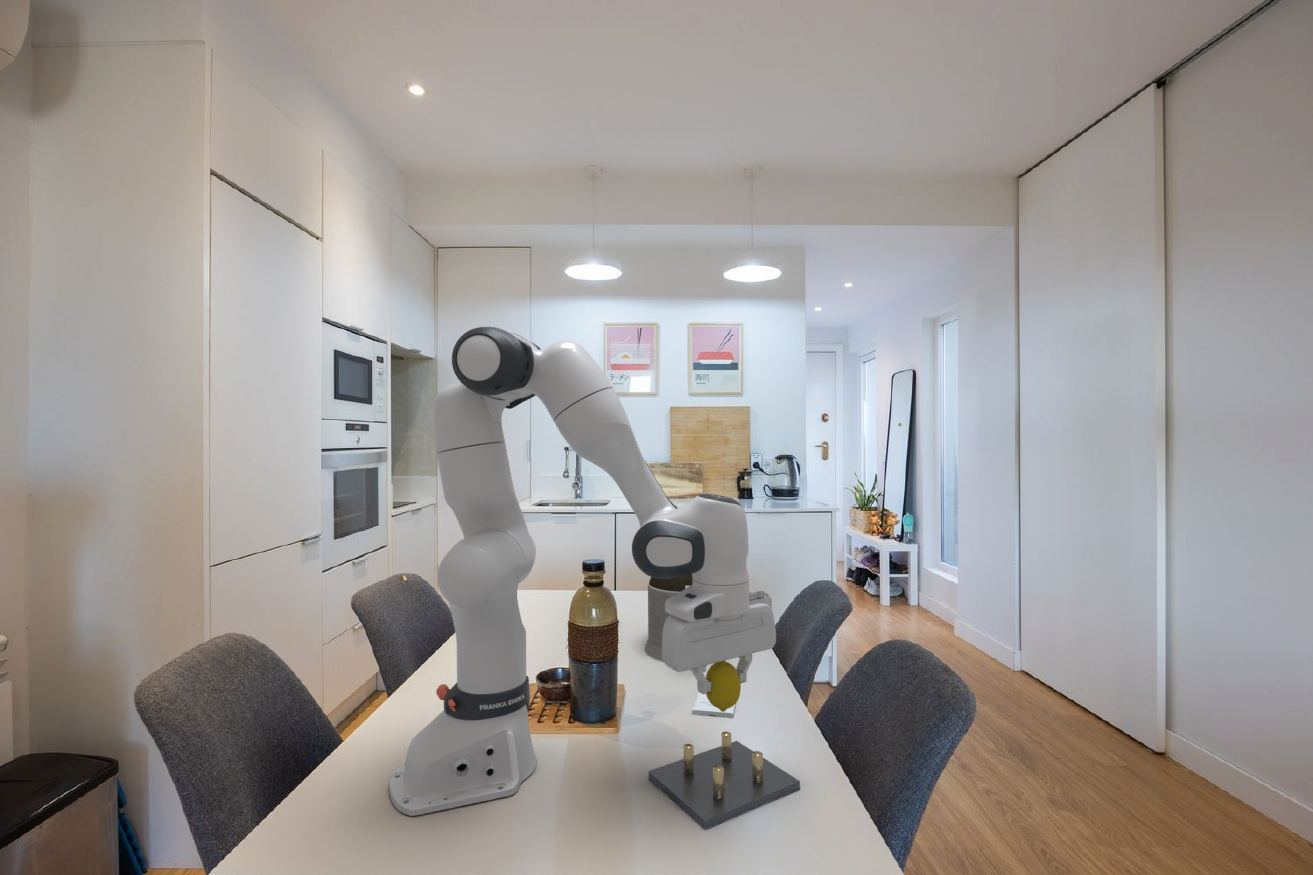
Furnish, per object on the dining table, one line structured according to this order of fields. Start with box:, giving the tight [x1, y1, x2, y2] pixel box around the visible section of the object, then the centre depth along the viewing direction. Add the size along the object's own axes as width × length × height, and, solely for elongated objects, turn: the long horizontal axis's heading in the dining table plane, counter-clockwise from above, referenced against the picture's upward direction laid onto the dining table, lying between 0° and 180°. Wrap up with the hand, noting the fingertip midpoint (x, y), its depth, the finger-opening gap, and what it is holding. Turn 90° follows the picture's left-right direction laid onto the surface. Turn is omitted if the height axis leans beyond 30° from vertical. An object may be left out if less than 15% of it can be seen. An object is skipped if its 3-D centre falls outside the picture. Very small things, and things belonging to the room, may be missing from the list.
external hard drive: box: [691, 692, 737, 719], centre depth 121 cm, size 2×8×12 cm
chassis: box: [647, 731, 801, 831], centre depth 92 cm, size 18×15×5 cm
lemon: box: [705, 660, 742, 712], centre depth 92 cm, size 6×6×8 cm
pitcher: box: [643, 574, 693, 663], centre depth 150 cm, size 23×32×25 cm
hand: (722, 687), depth 92 cm, fingers closed on lemon, 5 cm apart
